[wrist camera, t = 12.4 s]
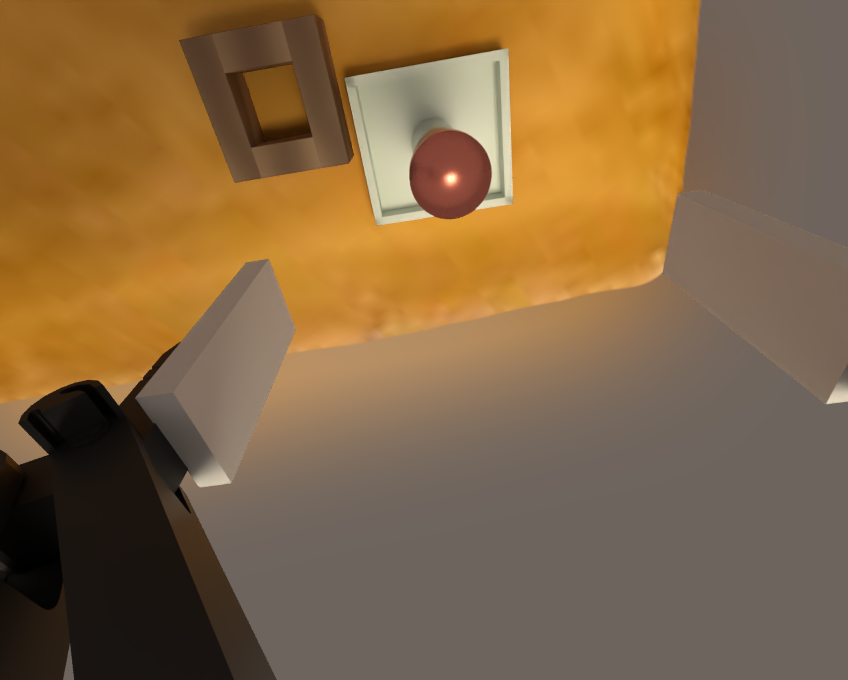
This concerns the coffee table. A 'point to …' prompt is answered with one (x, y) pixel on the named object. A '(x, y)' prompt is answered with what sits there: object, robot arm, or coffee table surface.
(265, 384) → the robot arm
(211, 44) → the socket block
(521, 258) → the coffee table surface
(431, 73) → the tray
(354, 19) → the coffee table surface
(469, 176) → the pin
